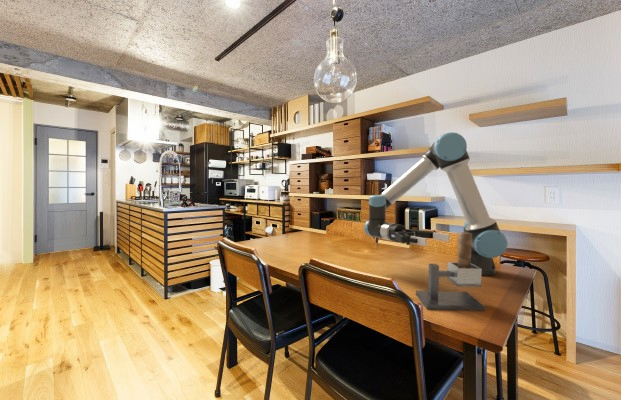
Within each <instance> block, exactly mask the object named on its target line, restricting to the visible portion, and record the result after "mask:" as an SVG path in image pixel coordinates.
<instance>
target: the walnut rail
mask: <svg viewBox="0 0 621 400" xmlns="http://www.w3.org/2000/svg"><path fill="white" fill-rule="evenodd" d="M471 244H472V233H467V232H464V231H459V232H458V237H457V258H456V259H457V261H456V262H457V267H458V268H471Z"/></svg>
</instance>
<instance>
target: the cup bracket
mask: <svg viewBox="0 0 621 400" xmlns="http://www.w3.org/2000/svg"><path fill="white" fill-rule="evenodd" d="M481 274H482V269H481V268H479V267H477V266H476V265H474V264H472V263H471V268H458V267H457V261H448V262H447V270H440V265H438V264H437V263H428V276H427V277H428V280H427V282H428V283H427V285H428V286H427V290H415V296H416V297H417V298H418V299H419V301H420V302H421V304H422V305H423V306H424V307H425V309H426V310H437V311H438V310H442V311H443V310H444V311H445V310H446V311H473V312H474V311H475V312H477V311H479V312H485V310H486V309H485V305H484V304H483V303H481V302H479V300H477V299H476V298H474V296H473V295H471V294H470V293H468V291H446V290H444V291H442V290H441V291H439V282H440V281H439V280H440V279H439V278H441V277H444V278H445V277H446V278H447V280H449V281H450V283H452V284H453V285H455V286H456V287H463V288H466V287H468V288H469V287H470V288H481V287H482V275H481Z"/></svg>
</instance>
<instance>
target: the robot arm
mask: <svg viewBox="0 0 621 400" xmlns="http://www.w3.org/2000/svg"><path fill="white" fill-rule="evenodd" d="M467 148H468V147H467V141H466V139H465V138H464V136H463V135H461V134H460V133H459V132H458V133H457V132H453V131H452V132H450V131H449V132H447V133H443V134H442V135H440V136H438V137H436V139H435V141H434V142H433V143H432V145H431V146H430V147H429V148H428V149H427V150H426V152H425V153H423V154H422V155H421V159H420V160H419V161H417V162H416V163H414V164H413V166H412V167H410V168H409V169H407V171H405V172H404V173H403V174H402V175H401V176H400V177H399V178H397V180H396V181H394V182H393V183H392V184H390V186H388V187H387V188H386V189H385V190H384V191H383V192H381V193H380V194H379V195H375V194H373V195H370V196H368V197H369V198H368V199H369V200H368V220H367V221H366V222H365V224H364V225H363V231H364V233H365V234H366V235H368V236H370V237H373V238H377V239H378V238H379V239H383V240H386V241H387V242H389V241H392V242H396V243H400V244H405V243H406V245H407V246H410V244H412V245H417V246H421V247H427V246H428V239H432V240H435V241H440V242H441V241H442V242H445V243H449V242H450V234H448V233H440V232H437V231H436V230H434V229H433V230H420V229H410V228H407V229H406V227H405V225H403V224H398V223H394V222H386V220H387V219H386V218H387V217H386V215H387V211H386V210H387V209H389V207H391V206H392V205H393V204H394V203H395V202H397V201H398V200H399V199H401V198H402V197H403V196H404V195H405V194H406V193H408V192H409V191H410V190H412V188H414V187H415V186H416V185H417V184H418V183H420V181H422V180H423V179H424V178H426V176H428V175H429V174H430V173H432V172H433V171H438V169H440V170H441V171H444V172H445V173H446V175H447V177H448V180H449V183H450V185H451V187H452V190H453V192H454V195H455V196H456V200H457V202H458V205H459V207H460V209H461V211H462V215H463V217H464V219H465V222H464V223H463V232H467V233H472V244H471V263H472V264H474V265H476V266H477V267H479V268H481V269H482V274H481V276H494V275H496V273H497V268H496V264H495V262H494V258H498V257H500V256H502V255H504V254H505V252H506V250H507V249H508V244H509V243H508V239H507V237H506V236H505V234H504V233H503V232H501V229H500V228H499V226H498V225H499V224H498V223H497V220H495V219H494V218H491V217H490V215H489V213H488V212H489V211H488V210H487V208H486V205H485V202H484V200H483V198H482V196H481V193H480V191H479V189H478V186H477V184H476V181H475V178H474V176H473V173H472V172H471V169H470V167H469V161H470V160H471V158H470V155H469V154H468V151H467Z"/></svg>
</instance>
